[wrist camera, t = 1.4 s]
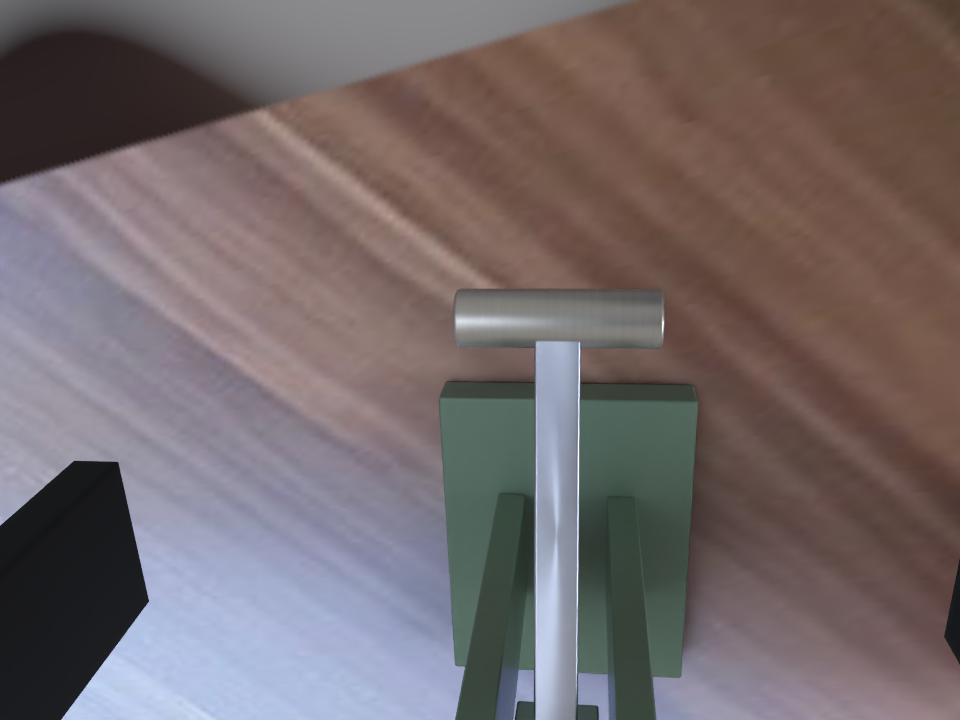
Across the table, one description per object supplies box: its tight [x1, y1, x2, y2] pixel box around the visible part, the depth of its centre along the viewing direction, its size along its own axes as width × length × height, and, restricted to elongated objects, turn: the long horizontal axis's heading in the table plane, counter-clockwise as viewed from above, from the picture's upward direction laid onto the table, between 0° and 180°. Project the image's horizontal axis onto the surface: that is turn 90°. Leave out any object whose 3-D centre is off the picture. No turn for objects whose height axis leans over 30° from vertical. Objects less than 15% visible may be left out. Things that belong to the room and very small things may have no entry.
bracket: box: [439, 382, 698, 720], centre depth 27 cm, size 12×9×14 cm
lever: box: [453, 289, 665, 720], centre depth 22 cm, size 14×5×2 cm, turn 2°
